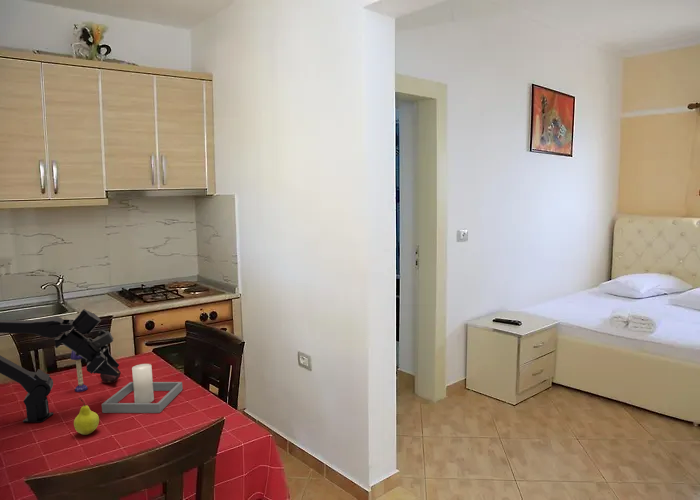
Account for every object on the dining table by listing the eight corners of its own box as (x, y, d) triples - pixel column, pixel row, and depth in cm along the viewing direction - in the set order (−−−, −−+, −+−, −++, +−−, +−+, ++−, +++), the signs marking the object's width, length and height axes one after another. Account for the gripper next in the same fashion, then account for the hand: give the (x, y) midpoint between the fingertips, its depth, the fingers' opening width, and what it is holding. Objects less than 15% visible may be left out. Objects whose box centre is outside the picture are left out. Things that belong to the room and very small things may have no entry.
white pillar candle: (149, 404, 182) (146, 370, 180) (131, 404, 182) (128, 370, 181) (157, 397, 188) (154, 363, 187) (139, 397, 189) (137, 363, 187)
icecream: (126, 368, 200) (117, 362, 213) (105, 368, 196) (97, 361, 208) (123, 387, 200) (114, 379, 212) (102, 387, 195) (94, 379, 208)
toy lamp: (83, 392, 194) (79, 349, 192) (70, 392, 195) (67, 349, 193) (89, 387, 199) (86, 345, 197) (77, 387, 199) (74, 345, 197)
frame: (159, 412, 175) (158, 404, 174) (102, 412, 176) (101, 404, 176) (182, 389, 195) (182, 382, 194) (130, 389, 196) (130, 382, 196)
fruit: (94, 426, 166) (90, 390, 165) (104, 432, 162) (100, 395, 161) (71, 434, 161) (67, 397, 160) (81, 440, 157) (77, 402, 155)
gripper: (94, 332, 168) (134, 360, 174) (98, 319, 185) (134, 345, 191) (69, 359, 166) (110, 386, 172) (75, 343, 184) (112, 369, 189)
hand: (117, 370), depth 181 cm, fingers open, 9 cm apart
